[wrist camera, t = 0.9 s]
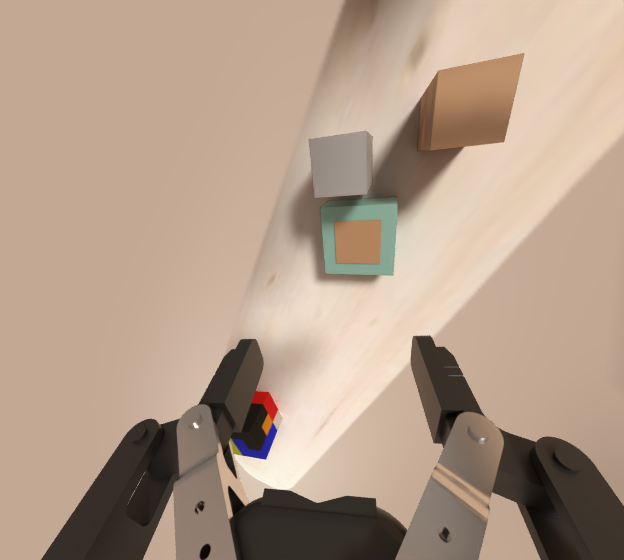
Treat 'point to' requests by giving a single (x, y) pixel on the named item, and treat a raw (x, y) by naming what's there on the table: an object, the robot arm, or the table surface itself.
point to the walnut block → (469, 104)
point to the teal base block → (359, 236)
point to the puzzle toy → (257, 428)
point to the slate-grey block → (342, 164)
